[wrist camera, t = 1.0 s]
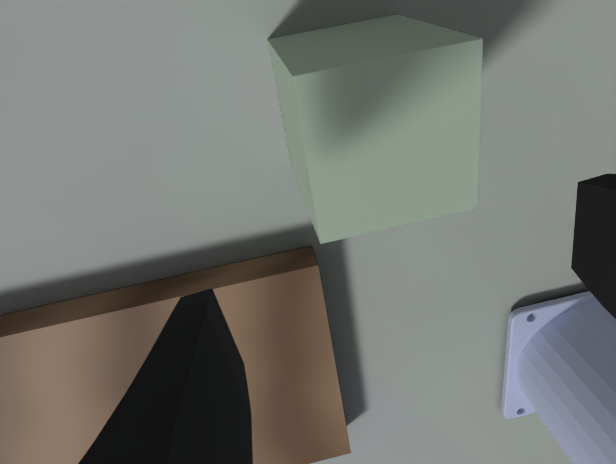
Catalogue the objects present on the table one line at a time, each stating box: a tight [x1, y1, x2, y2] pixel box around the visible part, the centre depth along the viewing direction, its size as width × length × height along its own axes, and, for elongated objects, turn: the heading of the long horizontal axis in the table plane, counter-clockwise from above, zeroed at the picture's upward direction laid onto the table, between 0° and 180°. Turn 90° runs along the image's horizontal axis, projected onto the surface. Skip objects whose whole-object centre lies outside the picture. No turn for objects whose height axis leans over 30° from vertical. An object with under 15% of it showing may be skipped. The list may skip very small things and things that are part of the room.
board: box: [0, 246, 351, 464], centre depth 22 cm, size 16×12×2 cm
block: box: [267, 14, 483, 244], centre depth 15 cm, size 4×4×6 cm
